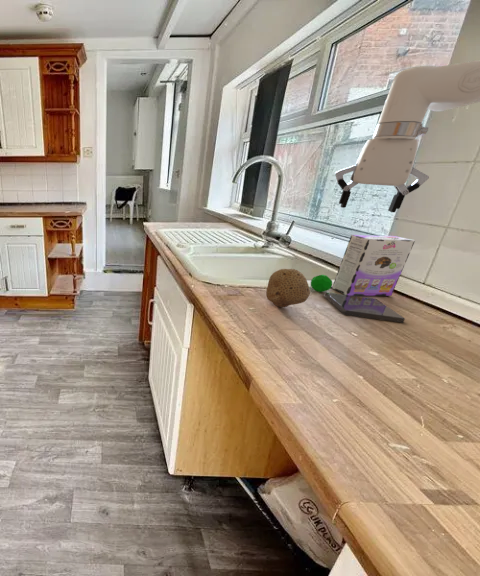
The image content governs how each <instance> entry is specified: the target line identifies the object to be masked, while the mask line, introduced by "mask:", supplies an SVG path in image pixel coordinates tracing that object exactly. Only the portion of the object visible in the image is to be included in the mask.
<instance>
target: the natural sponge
mask: <svg viewBox="0 0 480 576" xmlns="http://www.w3.org/2000/svg"><path fill="white" fill-rule="evenodd" d="M310 295H311V290H310V286H309V283H308V281H307V278H306V277H305V275H304V273H302V272H300V271H299V270H298V269H295V268H280V269H278V270H275V271H274V272H273V273H271V275H270V277H269V278H268V283H267V287H266V290H265V296H266V299H267V300H268V301H269V302H271V303H272V304H273V305H274V306H275V307H279V308H286V307H289V306H295V305H299V304H302V303H305V302H306V301H307V300H308V299H309V298H310Z"/></svg>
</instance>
